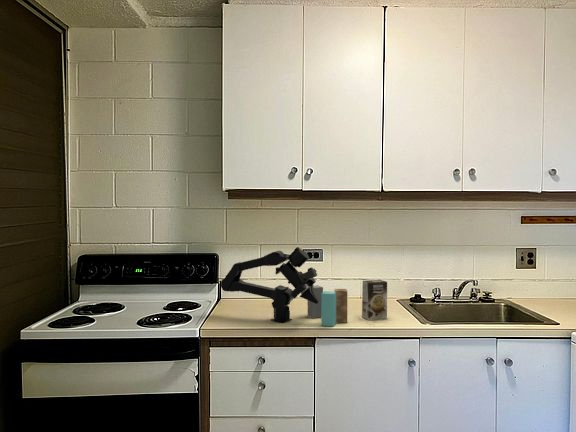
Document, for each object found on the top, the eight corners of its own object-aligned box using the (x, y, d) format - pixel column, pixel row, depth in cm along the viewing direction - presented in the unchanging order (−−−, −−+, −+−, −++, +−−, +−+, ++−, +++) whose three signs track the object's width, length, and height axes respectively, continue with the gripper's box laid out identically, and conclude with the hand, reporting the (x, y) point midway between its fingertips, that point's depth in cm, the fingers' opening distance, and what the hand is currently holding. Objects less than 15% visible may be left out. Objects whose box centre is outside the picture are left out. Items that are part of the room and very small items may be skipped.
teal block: (321, 325, 179) (321, 293, 179) (324, 322, 184) (324, 291, 184) (333, 326, 178) (333, 294, 177) (336, 323, 182) (336, 291, 182)
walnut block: (335, 322, 184) (335, 291, 184) (334, 319, 189) (334, 288, 189) (347, 322, 184) (347, 291, 183) (346, 319, 189) (346, 288, 188)
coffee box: (368, 320, 187) (368, 282, 187) (361, 317, 193) (361, 280, 193) (387, 319, 190) (387, 281, 189) (380, 315, 196) (380, 279, 195)
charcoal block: (312, 318, 191) (312, 288, 190) (307, 315, 195) (307, 286, 195) (323, 316, 193) (323, 287, 192) (317, 314, 197) (317, 285, 197)
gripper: (298, 264, 175) (326, 294, 171) (311, 259, 192) (336, 286, 189) (280, 283, 177) (306, 313, 174) (294, 276, 195) (318, 303, 192)
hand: (317, 303), depth 182 cm, fingers closed
